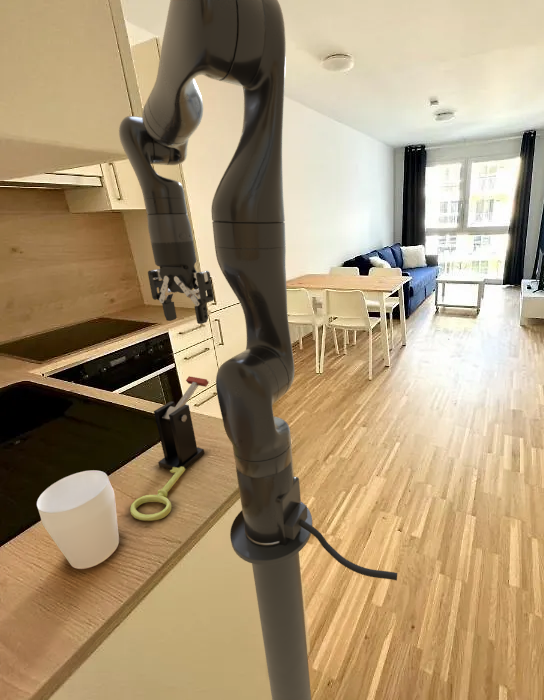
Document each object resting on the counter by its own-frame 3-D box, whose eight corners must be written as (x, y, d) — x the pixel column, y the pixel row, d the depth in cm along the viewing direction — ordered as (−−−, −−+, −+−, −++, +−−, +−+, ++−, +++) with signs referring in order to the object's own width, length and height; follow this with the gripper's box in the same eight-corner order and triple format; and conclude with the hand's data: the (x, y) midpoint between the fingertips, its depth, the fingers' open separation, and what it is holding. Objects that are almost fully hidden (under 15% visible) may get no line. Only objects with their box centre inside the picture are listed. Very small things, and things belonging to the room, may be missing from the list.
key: (187, 472, 74) (185, 464, 73) (167, 520, 62) (165, 510, 61) (151, 476, 73) (149, 467, 72) (124, 524, 61) (121, 515, 61)
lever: (192, 381, 81) (187, 374, 80) (210, 384, 80) (205, 377, 78) (163, 422, 75) (156, 416, 73) (181, 426, 73) (175, 420, 71)
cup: (52, 586, 51) (24, 522, 47) (69, 537, 59) (47, 479, 55) (123, 564, 54) (103, 501, 50) (131, 520, 62) (114, 463, 58)
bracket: (183, 447, 82) (173, 398, 77) (204, 453, 80) (195, 402, 75) (159, 466, 76) (146, 413, 71) (180, 473, 74) (169, 419, 69)
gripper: (215, 238, 69) (226, 319, 75) (160, 238, 75) (174, 314, 80) (186, 240, 63) (201, 329, 69) (128, 241, 68) (146, 323, 74)
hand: (186, 321), depth 74 cm, fingers open, 8 cm apart
